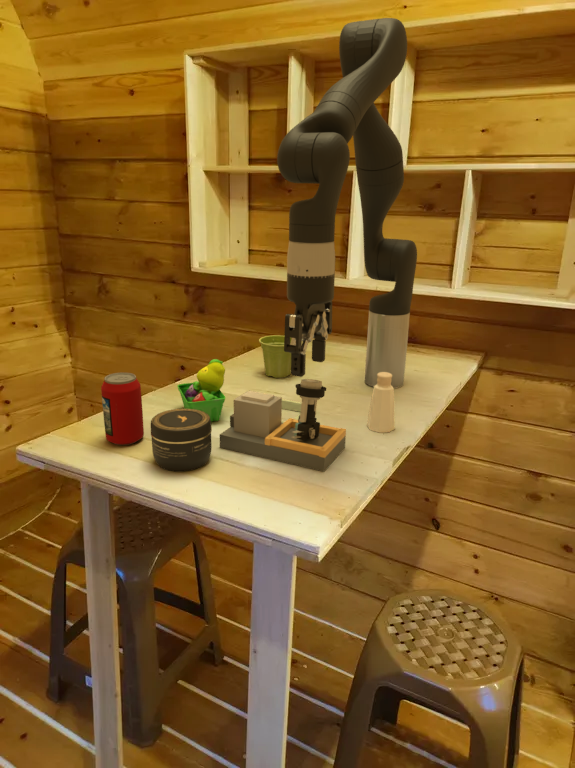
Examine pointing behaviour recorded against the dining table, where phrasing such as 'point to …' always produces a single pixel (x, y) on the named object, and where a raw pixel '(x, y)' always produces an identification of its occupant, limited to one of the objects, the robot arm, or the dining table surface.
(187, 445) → the jar
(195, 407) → the fruit basket
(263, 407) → the gray stepped base block
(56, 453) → the dining table surface
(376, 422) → the pepper shaker
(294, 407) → the parts tray
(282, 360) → the plant pot
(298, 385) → the black and tan cylinder
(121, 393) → the beverage can
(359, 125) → the robot arm
